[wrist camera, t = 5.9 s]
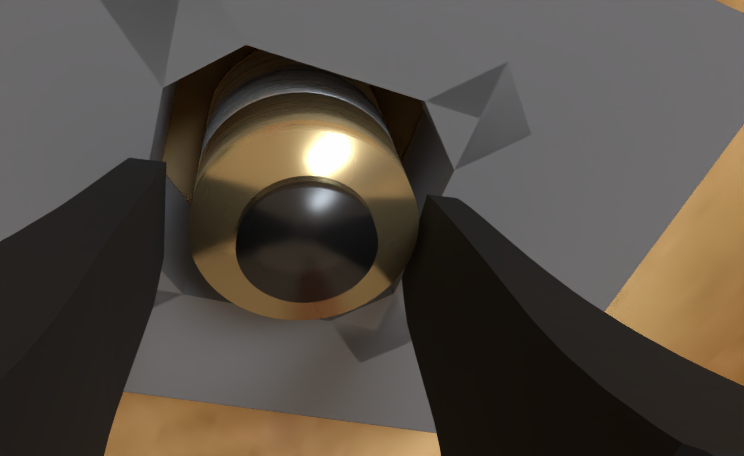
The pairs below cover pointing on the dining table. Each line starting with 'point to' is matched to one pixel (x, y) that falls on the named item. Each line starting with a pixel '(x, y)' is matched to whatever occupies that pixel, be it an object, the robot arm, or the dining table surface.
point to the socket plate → (421, 161)
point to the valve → (299, 192)
